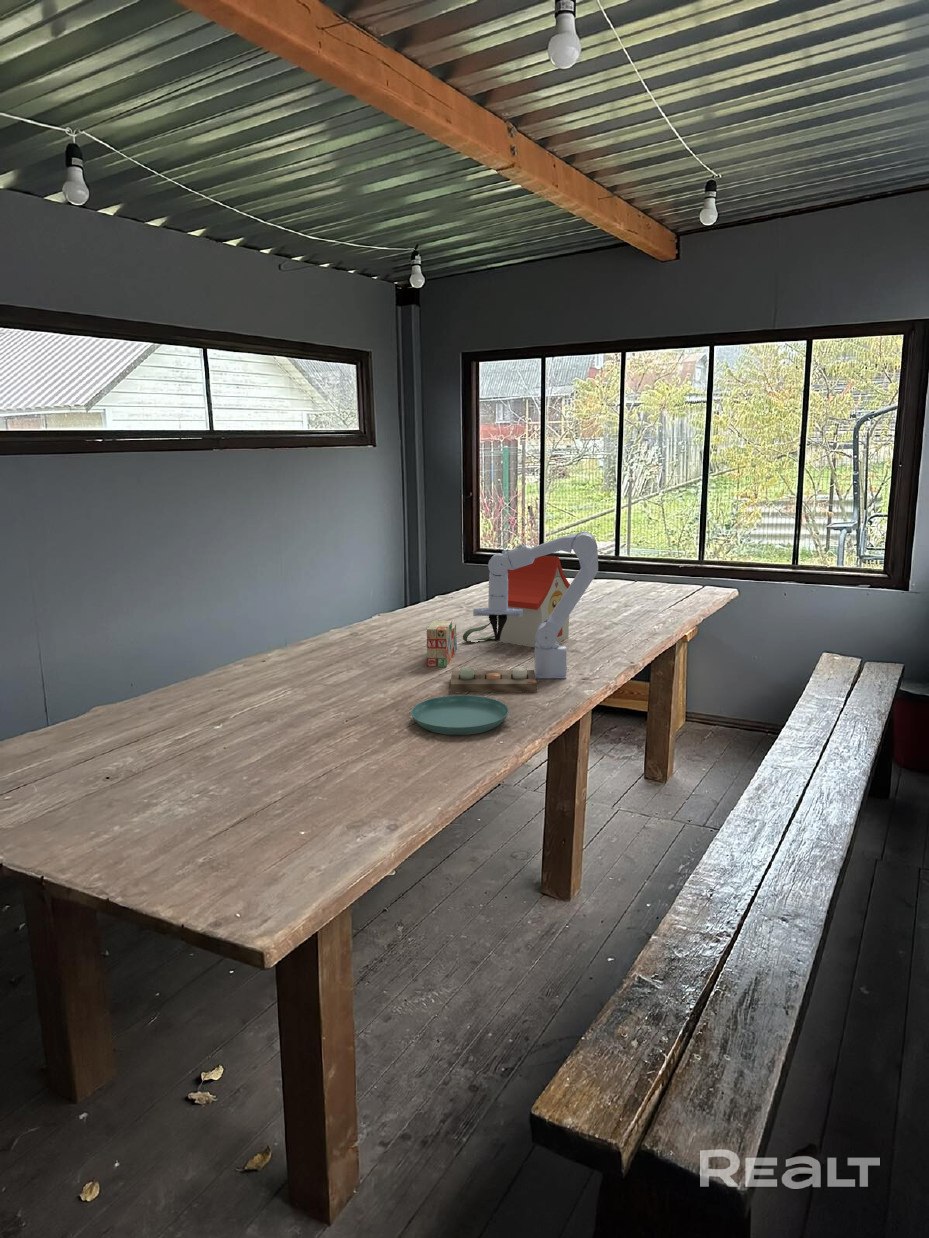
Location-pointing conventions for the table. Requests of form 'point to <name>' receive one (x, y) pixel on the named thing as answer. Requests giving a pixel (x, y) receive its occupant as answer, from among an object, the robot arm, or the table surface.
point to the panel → (493, 682)
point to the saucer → (460, 714)
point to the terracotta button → (493, 676)
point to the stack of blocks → (441, 643)
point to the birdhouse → (532, 601)
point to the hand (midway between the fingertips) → (497, 639)
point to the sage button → (466, 673)
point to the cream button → (519, 673)
